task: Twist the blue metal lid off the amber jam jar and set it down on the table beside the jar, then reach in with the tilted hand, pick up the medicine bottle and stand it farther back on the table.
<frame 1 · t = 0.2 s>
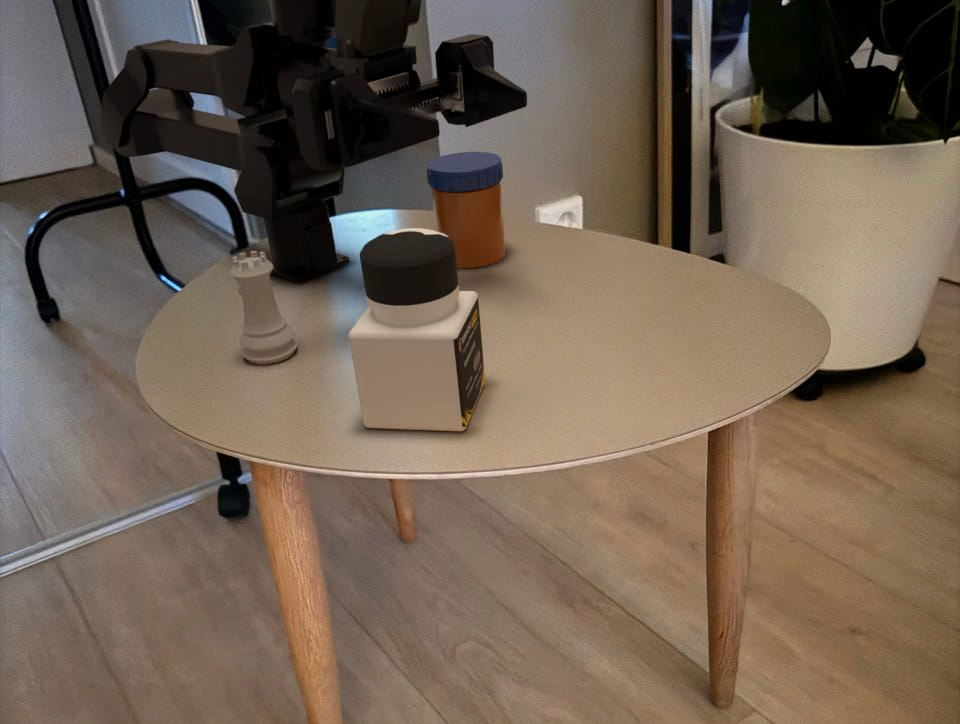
hand: (483, 113, 65), 16 cm above the table, tool horizontal, fingers open, 9 cm apart
rook chess piece: (271, 355, 73), on the table
medicine bottle: (427, 407, 64), on the table
lid: (464, 166, 83), point 8 cm above the table, screwed on, not yet turned
jar: (472, 256, 88), on the table
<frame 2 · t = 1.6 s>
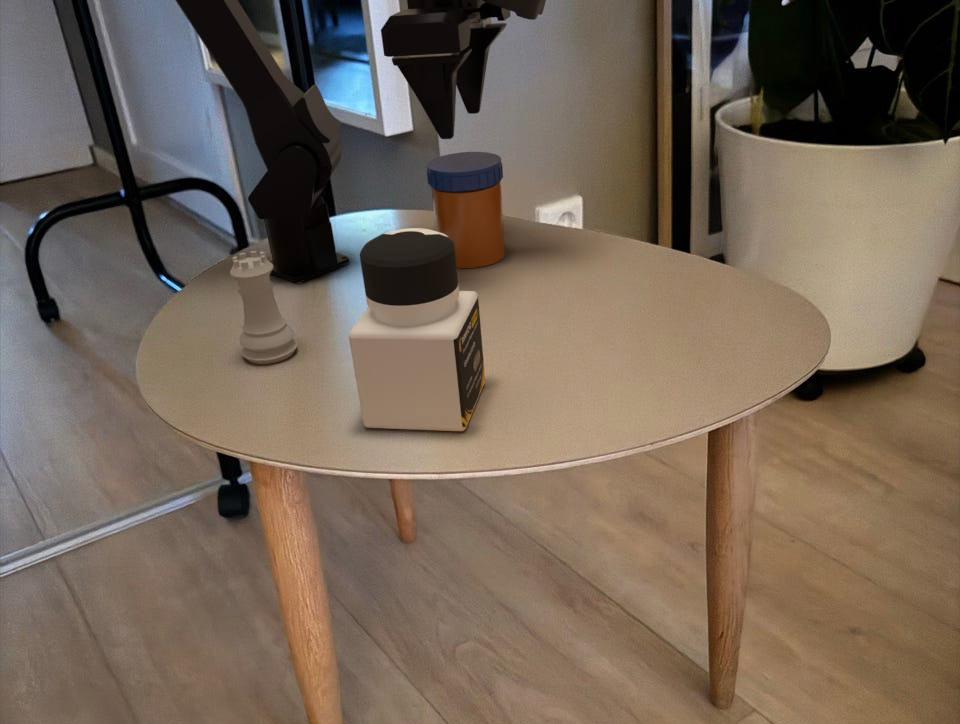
hand: (461, 125, 81), 12 cm above the table, tool pointing down, fingers open, 9 cm apart
nothing on the table moved.
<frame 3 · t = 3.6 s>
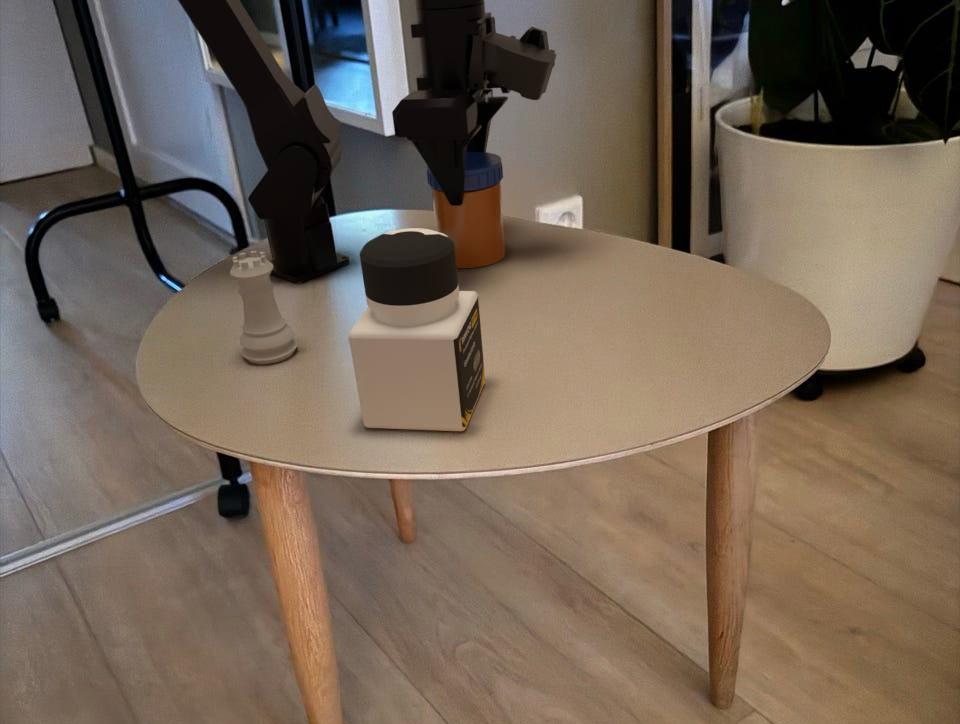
hand: (466, 193, 85), 6 cm above the table, tool pointing down, fingers closed on lid, 7 cm apart
lid: (464, 166, 83), point 8 cm above the table, screwed on, not yet turned, touching gripper
everything else where it was.
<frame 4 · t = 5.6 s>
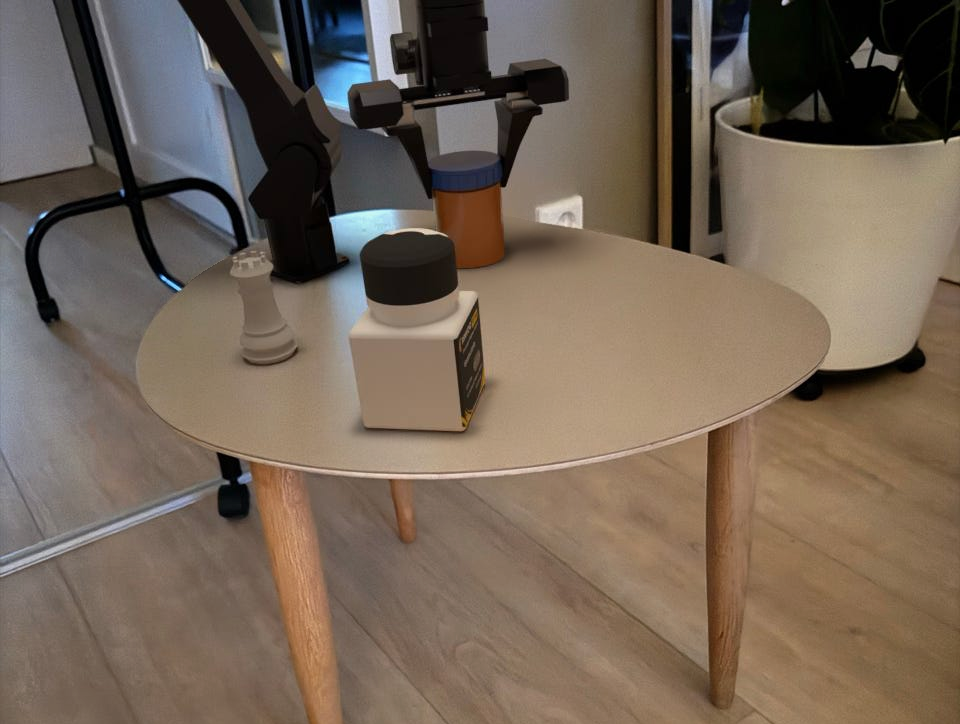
hand: (466, 192, 85), 6 cm above the table, tool pointing down, fingers closed on lid, 7 cm apart
lid: (463, 164, 83), point 9 cm above the table, off its thread, touching gripper
everything else where it was.
when the fingers open (0 cm above the table, at t = 12.4 s): lid drops 1 cm, point 1 cm above the table.
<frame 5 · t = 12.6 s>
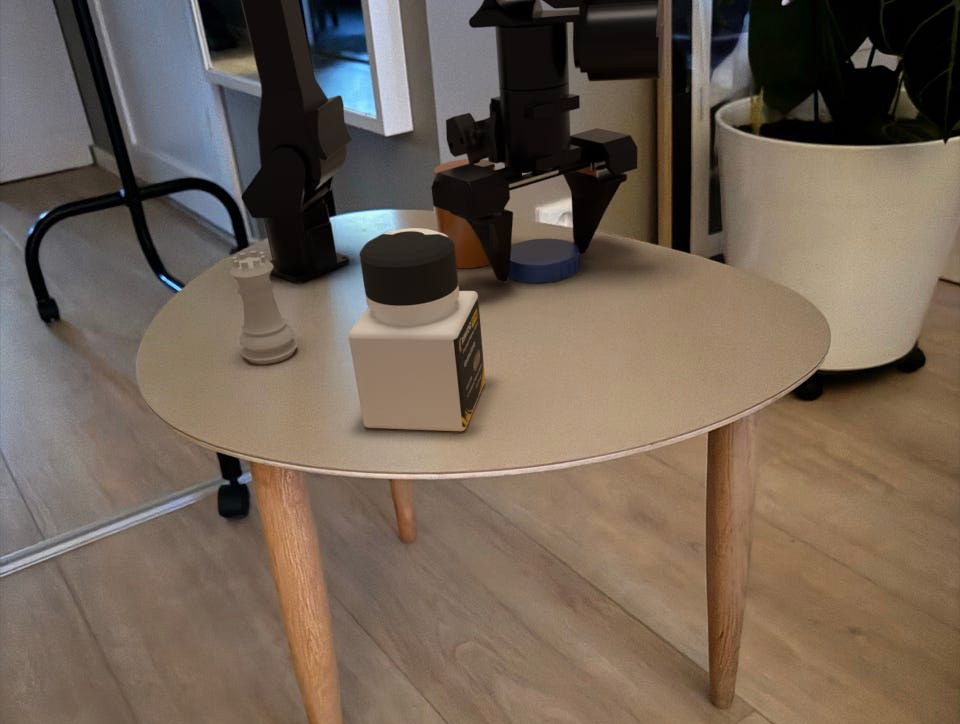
hand: (542, 266, 84), 0 cm above the table, tool pointing down, fingers open, 9 cm apart
lid: (541, 255, 83), point 1 cm above the table, off its thread
everything else where it was.
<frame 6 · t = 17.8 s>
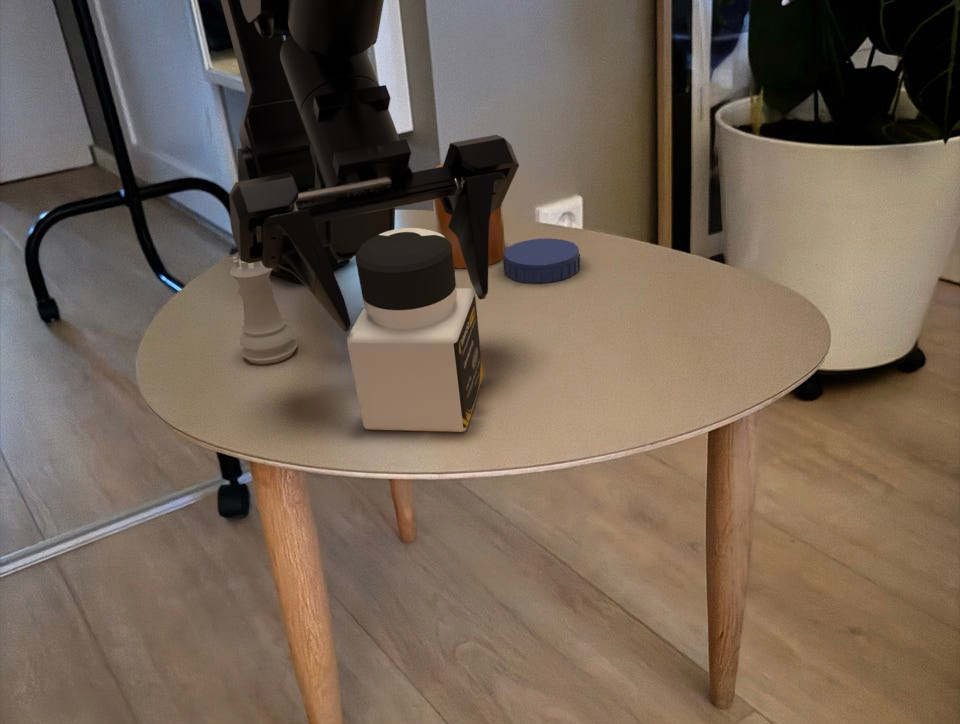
hand: (417, 312, 59), 7 cm above the table, tool tilted 45°, fingers open, 9 cm apart
medicine bottle: (425, 406, 64), on the table, touching gripper
everything else where it was.
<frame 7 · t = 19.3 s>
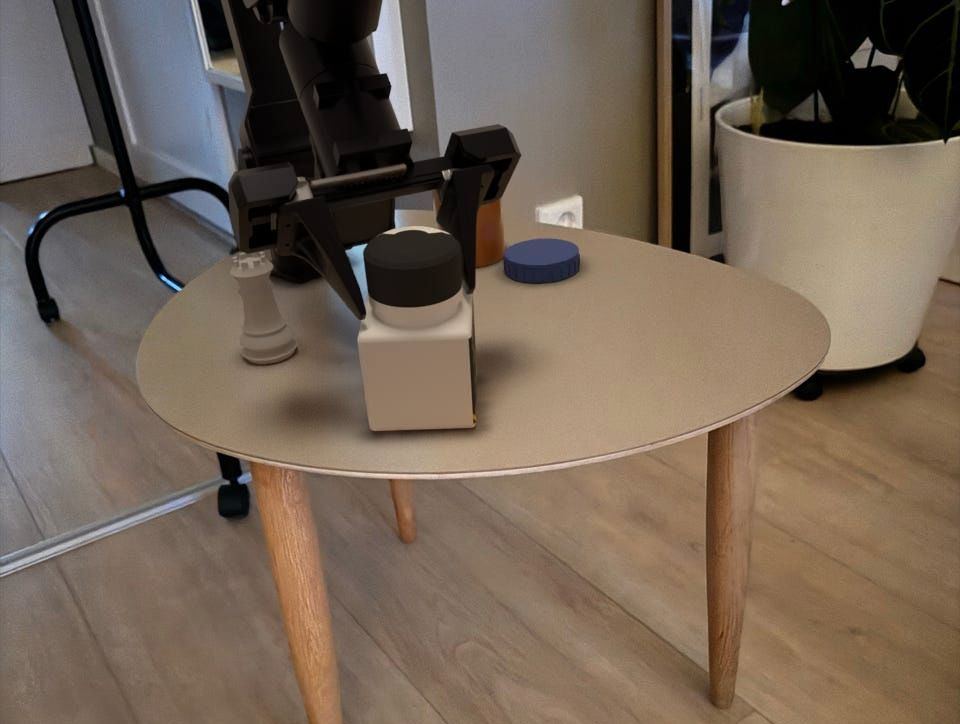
hand: (418, 304, 58), 8 cm above the table, tool tilted 45°, fingers closed on medicine bottle, 7 cm apart
medicine bottle: (425, 405, 64), on the table, touching gripper
everything else where it was.
when the fingers open (8 cm above the table, at t = 22.5 s): medicine bottle stays where it is, on the table.
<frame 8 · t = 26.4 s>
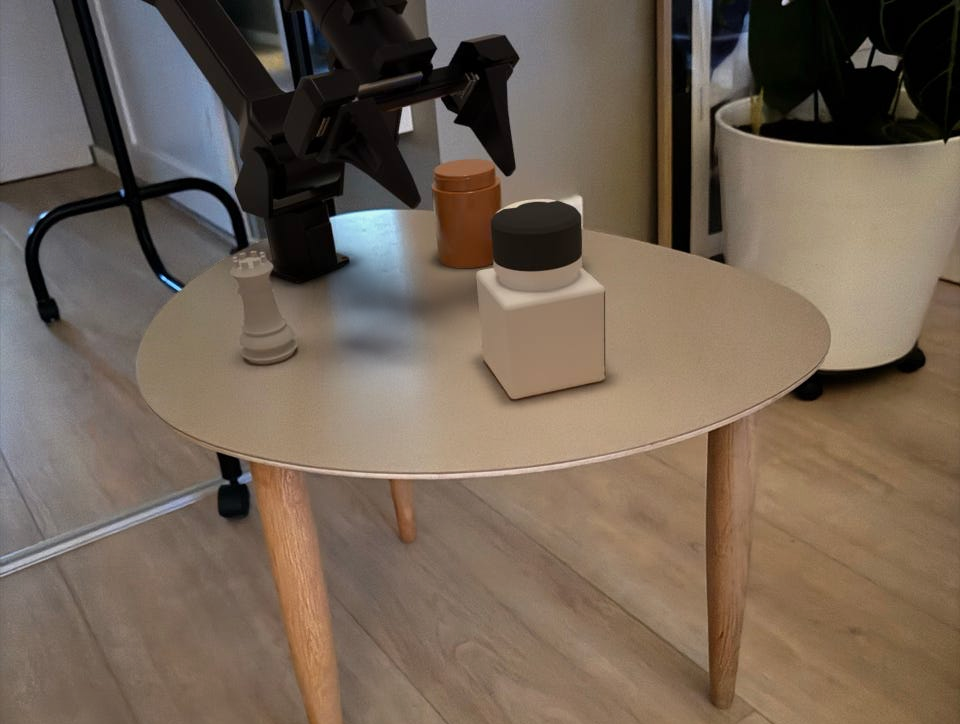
hand: (466, 188, 67), 12 cm above the table, tool tilted 45°, fingers open, 9 cm apart
medicine bottle: (542, 372, 67), on the table
everything else where it was.
at the end: lid came off its thread; lid point 1.3 cm above the table; medicine bottle inside the target area (1.3 cm from its centre), on the table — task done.
